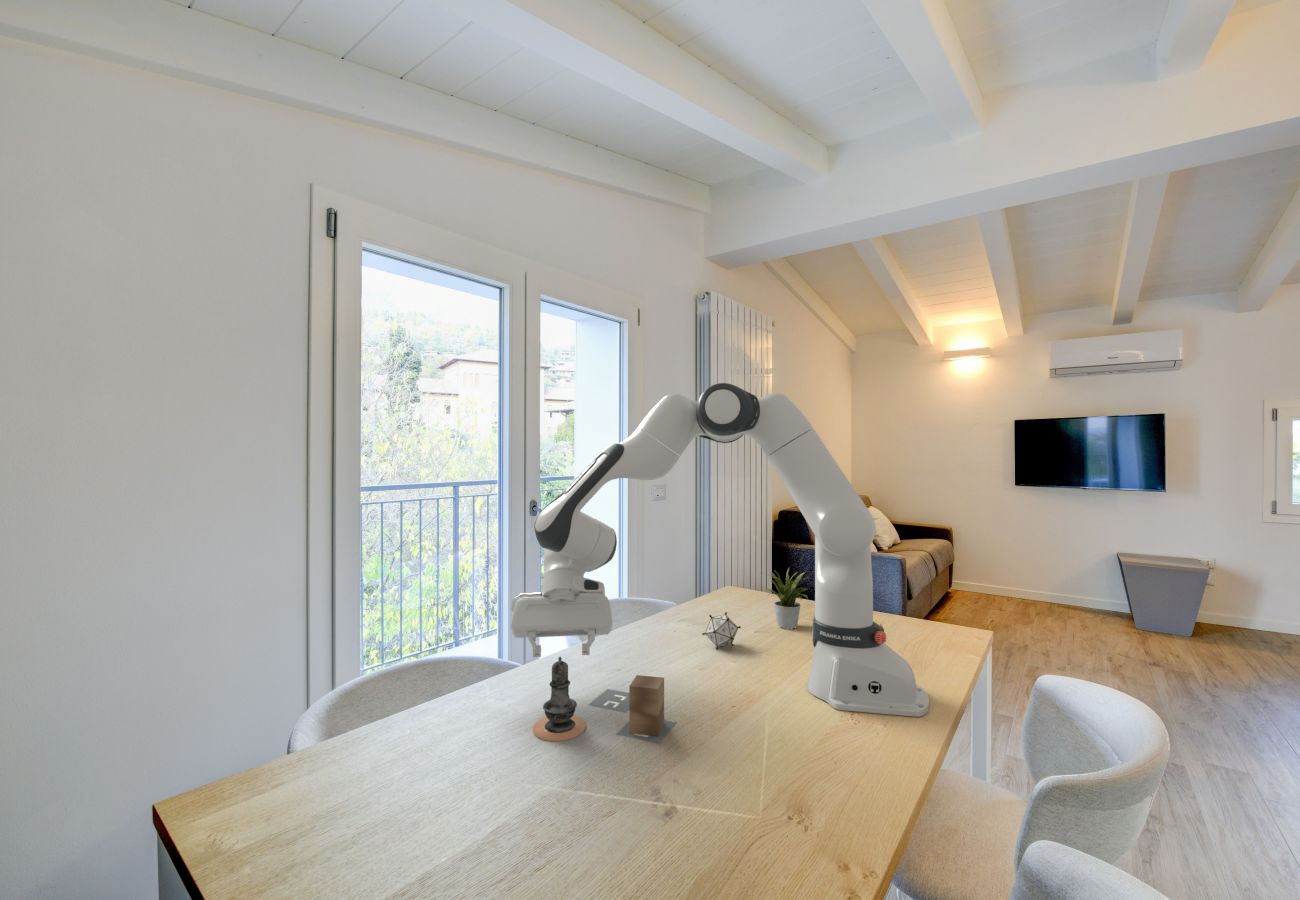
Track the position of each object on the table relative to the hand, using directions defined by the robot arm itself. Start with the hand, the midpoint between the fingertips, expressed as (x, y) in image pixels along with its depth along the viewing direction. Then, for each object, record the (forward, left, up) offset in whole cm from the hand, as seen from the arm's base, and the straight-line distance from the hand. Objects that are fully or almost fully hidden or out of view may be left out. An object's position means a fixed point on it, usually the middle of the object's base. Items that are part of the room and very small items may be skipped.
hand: (561, 655), depth 112 cm
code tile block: (-20, +4, -9) cm, 22 cm away
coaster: (-6, +10, -9) cm, 15 cm away
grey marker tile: (-10, -4, -9) cm, 14 cm away
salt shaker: (-6, +10, -8) cm, 15 cm away
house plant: (-31, -64, -9) cm, 71 cm away
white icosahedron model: (-20, -42, -9) cm, 47 cm away
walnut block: (-20, +4, -8) cm, 22 cm away
